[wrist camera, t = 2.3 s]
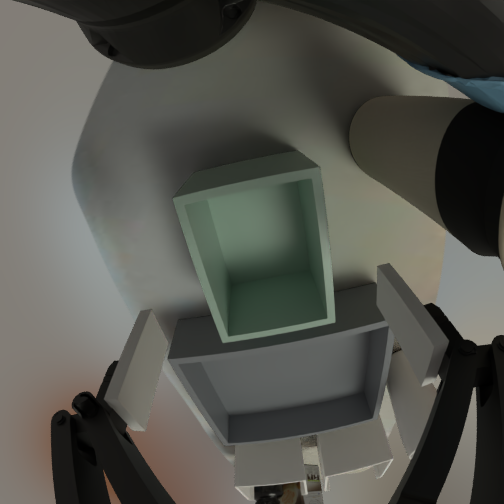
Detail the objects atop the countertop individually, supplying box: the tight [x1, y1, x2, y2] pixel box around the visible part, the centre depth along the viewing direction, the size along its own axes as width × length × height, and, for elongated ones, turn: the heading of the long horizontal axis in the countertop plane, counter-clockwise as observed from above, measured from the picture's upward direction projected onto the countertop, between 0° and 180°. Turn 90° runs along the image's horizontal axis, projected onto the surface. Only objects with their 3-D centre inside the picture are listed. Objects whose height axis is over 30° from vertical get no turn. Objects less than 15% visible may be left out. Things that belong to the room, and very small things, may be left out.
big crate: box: [168, 283, 395, 446], centre depth 32 cm, size 20×22×6 cm
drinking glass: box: [386, 350, 437, 459], centre depth 29 cm, size 7×7×15 cm
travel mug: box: [349, 96, 504, 269], centre depth 15 cm, size 8×8×18 cm
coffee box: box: [279, 465, 323, 504], centre depth 47 cm, size 9×6×16 cm
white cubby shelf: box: [234, 415, 394, 500], centre depth 40 cm, size 25×11×11 cm, turn 101°
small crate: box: [172, 151, 335, 343], centre depth 23 cm, size 12×9×8 cm
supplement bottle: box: [254, 484, 284, 504], centre depth 45 cm, size 7×7×12 cm
